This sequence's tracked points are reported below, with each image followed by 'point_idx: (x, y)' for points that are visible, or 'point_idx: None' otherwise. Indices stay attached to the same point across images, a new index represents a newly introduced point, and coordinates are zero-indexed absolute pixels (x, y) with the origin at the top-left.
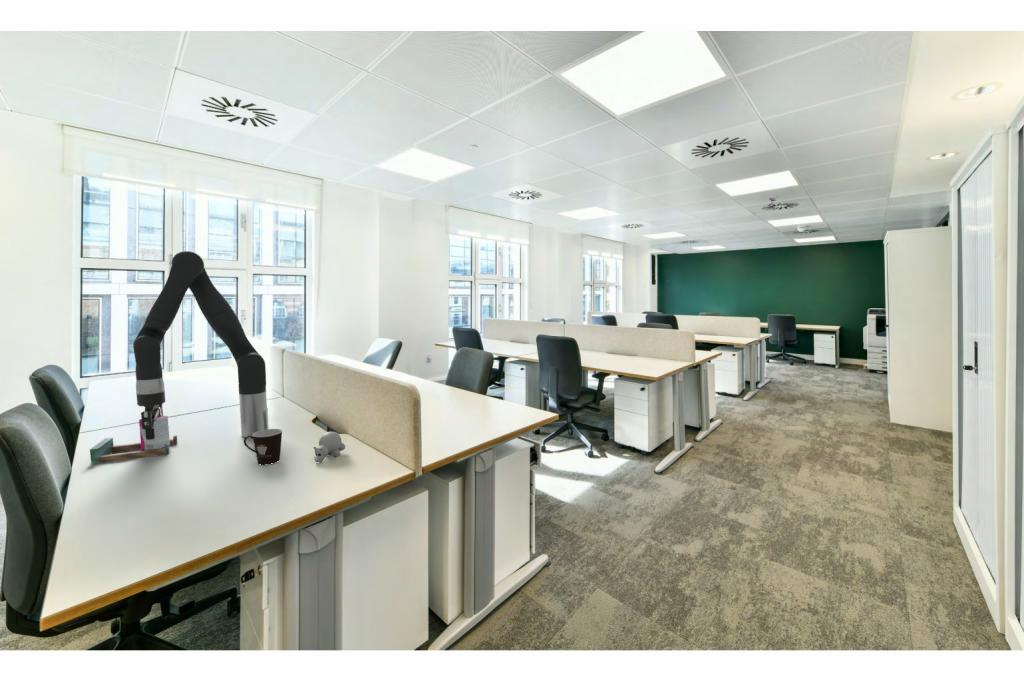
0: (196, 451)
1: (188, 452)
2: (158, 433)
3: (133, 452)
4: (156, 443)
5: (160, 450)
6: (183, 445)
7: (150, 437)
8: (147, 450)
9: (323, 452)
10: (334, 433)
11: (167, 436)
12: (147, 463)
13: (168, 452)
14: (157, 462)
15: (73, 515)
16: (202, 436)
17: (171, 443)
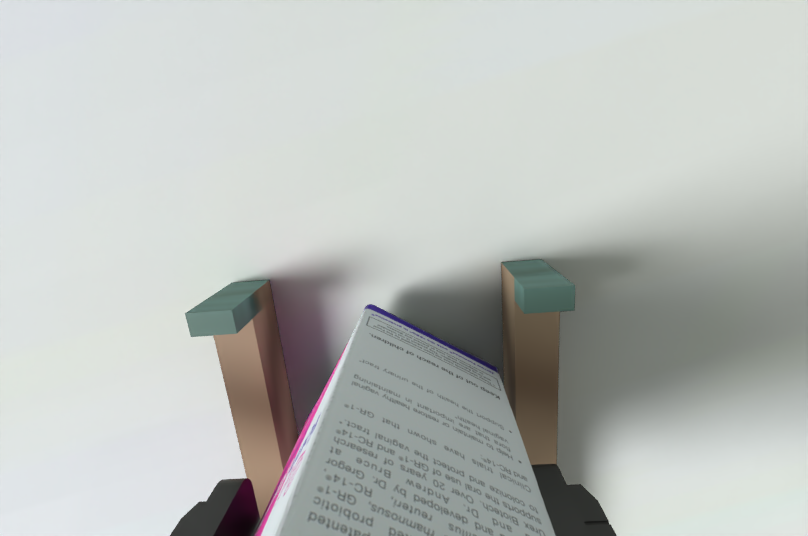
0: (577, 11)
1: (573, 88)
2: (491, 473)
3: None
4: (500, 404)
5: (555, 328)
6: (311, 211)
7: (592, 507)
8: (534, 425)
9: None
10: None
11: (376, 363)
12: (725, 338)
13: (538, 263)
14: (745, 273)
15: None
16: (39, 115)
17: (268, 320)
